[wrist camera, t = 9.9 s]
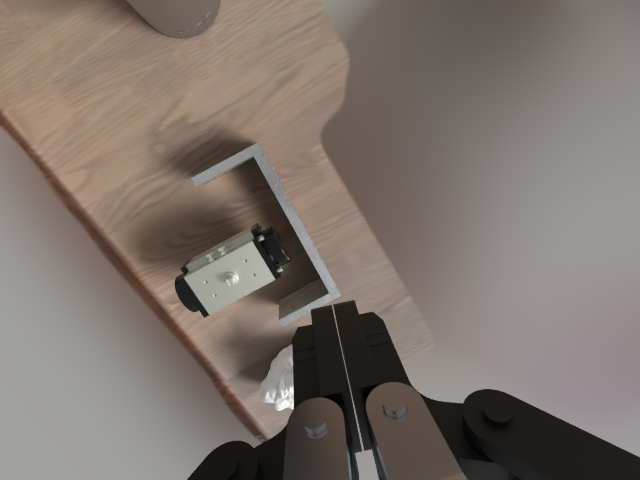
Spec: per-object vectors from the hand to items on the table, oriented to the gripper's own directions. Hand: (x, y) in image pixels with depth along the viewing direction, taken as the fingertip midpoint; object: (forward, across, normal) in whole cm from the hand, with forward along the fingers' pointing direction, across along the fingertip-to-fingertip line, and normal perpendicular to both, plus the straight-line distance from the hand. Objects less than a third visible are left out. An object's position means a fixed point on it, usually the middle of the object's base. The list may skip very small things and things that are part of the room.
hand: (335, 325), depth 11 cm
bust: (+29, +6, +27) cm, 40 cm away
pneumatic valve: (+31, +10, +10) cm, 34 cm away
